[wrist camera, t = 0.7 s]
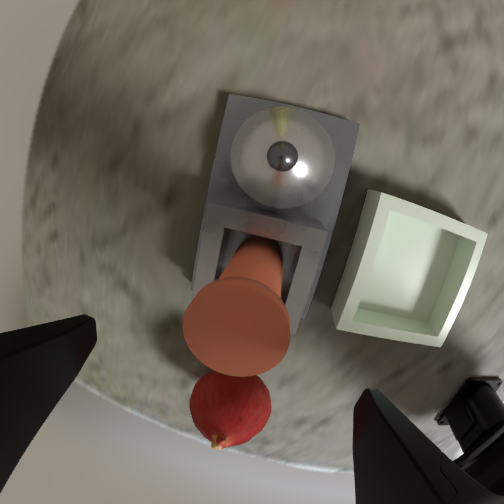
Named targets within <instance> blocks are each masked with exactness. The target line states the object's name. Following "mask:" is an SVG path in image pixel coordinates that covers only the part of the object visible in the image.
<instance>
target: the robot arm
mask: <svg viewBox="0 0 504 504" xmlns="http://www.w3.org/2000/svg"><path fill="white" fill-rule="evenodd" d="M96 341H97V332H96V321H95V319H94V318H93V317H90V316H88V315H85V314H84V315H79V316H75V317H71V318H66V319H62V320H58V321H53V322H49V323H44V324H40V325H36V326H31V327H27V328H22V329H18V330H13V331H8V332H4V333H0V493H1V491H2V489H3V487H4V486H5V484H6V482H7V480H8V479H9V477H10V475H11V474H12V472H13V470H14V469H15V467H16V465H17V464H18V462H19V459H21V457H22V455H23V454H24V452H25V451H26V449H27V447H28V446H29V444H30V443H31V441H32V440H33V438H34V437H35V435H36V434H37V432H38V431H39V429H40V428H41V426H42V425H43V423H44V422H45V420H46V419H47V417H48V416H49V414H50V413H51V411H52V410H53V409H54V407H55V406H56V404H57V403H58V401H59V400H60V399H61V397H62V396H63V395H64V393H65V392H66V390H67V389H68V388H69V386H70V385H71V383H72V382H73V381H74V379H75V378H76V376H77V375H78V373H79V372H80V370H81V368H82V366H83V365H84V363H85V361H86V360H87V358H88V356H89V354H90V353H91V351H92V349H93V348H94V346H95V344H96ZM501 384H502V380H501V379H487V378H469V379H468V380H467V381H466V382H465V383H464V385H463V386H462V388H461V389H460V391H459V392H458V394H457V395H456V397H455V398H454V399H453V401H452V402H451V403H450V405H449V406H448V408H447V409H446V410H445V411H444V413H443V414H442V415H441V417H440V418H439V419H438V421H437V423H438V425H450V428H451V430H452V432H453V434H454V436H455V438H456V440H458V442H459V444H460V446H461V448H462V451H463V453H464V454H463V455H461V456H460V457H459V458H457V459H455V460H454V461H452V460H450V459H449V458H448V457H447V456H446V455H445V454H444V453H443V452H441V450H440V449H439V448H438V447H437V446H436V445H435V444H434V443H433V442H432V441H431V440H430V439H429V438H428V437H426V436H425V435H424V434H423V433H422V432H421V431H420V430H419V429H418V428H417V427H416V426H415V425H414V424H413V423H412V422H411V421H410V420H409V419H408V418H407V417H406V416H405V415H404V414H403V413H402V412H401V411H400V410H399V409H398V408H397V407H396V406H395V405H393V404H392V403H391V402H390V401H389V400H388V399H387V398H386V397H385V396H384V395H383V394H382V393H381V392H380V391H379V390H378V389H373V388H366V389H365V390H364V391H363V393H362V395H361V396H360V398H359V400H358V401H357V403H356V405H355V407H354V413H353V462H354V476H355V496H356V504H504V404H503V402H502V401H501V400H500V398H499V397H498V395H497V394H496V391H497V390H498V388H499V387H500V385H501Z"/></svg>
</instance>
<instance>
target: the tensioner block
mask: <svg viewBox="0 0 504 504" xmlns="http://www.w3.org/2000/svg"><path fill="white" fill-rule="evenodd" d="M359 125H360V124H358V123H355V122H351V121H348V120H345V119H342V118H338V117H335V116H331V115H328V114H324V113H320V112H317V111H313V110H309V109H305V108H301V107H297V106H292V105H288V104H283V103H279V102H274V101H269V100H264V99H258V98H253V97H247V96H241V95H234V94H229V97H228V101H227V105H226V109H225V113H224V118H223V122H222V126H221V130H220V135H219V139H218V144H217V148H216V153H215V157H214V162H213V167H212V172H211V176H210V181H209V186H208V191H207V196H206V202H205V207H204V212H203V218H202V223H201V229H200V234H199V240H198V246H197V252H196V258H195V264H194V270H193V277H192V283H191V290H192V291H193V296H192V300H193V299H194V297H195V296H196V294H197V293H198V292H199V291H200V290H201V289H202V288H203V287H204V286H206V285H207V284H209V283H211V282H213V281H215V280H218V279H219V278H220V276H221V274H222V273H223V271H224V269H225V268H226V266H227V265H228V263H229V261H230V260H231V258H232V256H233V255H234V253H235V252H236V250H237V248H238V247H239V245H240V244H241V243H242V242H243V241H244V240H246V239H248V238H250V237H254V236H262V237H266V238H269V239H271V240H272V241H274V242H275V243H276V244H277V245H278V247H279V248H280V250H281V252H282V256H283V267H282V286H281V300H282V301H283V302H284V304H285V306H286V308H287V311H288V313H289V318H290V334H292V335H295V334H296V331H297V328H298V325H299V322H300V320H301V318H302V319H306V316H307V313H308V310H309V307H310V304H311V302H312V299H313V296H314V292H315V289H316V286H317V283H318V280H319V277H320V274H321V271H322V268H323V264H324V261H325V258H326V254H327V251H328V248H329V244H330V241H331V238H332V234H333V231H334V227H335V223H336V220H337V216H338V213H339V209H340V205H341V201H342V198H343V194H344V190H345V186H346V182H347V178H348V174H349V170H350V165H351V161H352V157H353V153H354V148H355V144H356V139H357V134H358V130H359Z"/></svg>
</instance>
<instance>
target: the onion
mask: <svg viewBox="0 0 504 504" xmlns="http://www.w3.org/2000/svg"><path fill="white" fill-rule="evenodd" d="M190 411H191V415H192V418H193V422H194V424H195V426H196V427H197V428H198V430H199V431H200V432H201V433H202V435H203V436H204V437H206V438H207V439H208V440H210V441H211V442H212V444H211V447H213V448H215V449H219V450H221V449H223V448H225V447H230V446H235V445H240V444H243V443H246V442H247V441H249V440H250V439H251V438H253V437H254V436H255V435H256V434H258V433H259V432H260V431H262V429H263V428H264V426H265V424H266V423H267V421H268V419H269V417H270V413H271V399H270V394H269V390H268V389H267V387H266V386H265V384H264V383H263V381H262V380H261V379H260V377H258V376H257V375H254V376H247V377H237V376H230V375H225V374H222V373H219V372H217V371H214V370H212V371H210V372H208V373H207V374H206V375H204V376H203V377H201V378H200V379H199V380H198V382H197V383H196V384H195V386H194V389H193V391H192V394H191V398H190Z"/></svg>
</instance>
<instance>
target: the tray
mask: <svg viewBox="0 0 504 504" xmlns="http://www.w3.org/2000/svg"><path fill="white" fill-rule="evenodd" d="M486 238H487V233H485V232H482V231H480V230H478V229H476V228H473V227H471V226H469V225H467V224H464V223H462V222H459V221H457V220H455V219H452V218H450V217H447V216H445V215H442V214H440V213H437V212H435V211H432V210H430V209H427V208H424V207H422V206H419V205H416V204H414V203H411V202H408V201H405V200H403V199H400V198H397V197H394V196H391V195H388V194H385V193H382V192H378V191H375V190H371V189H368V190H367V194H366V198H365V202H364V205H363V209H362V213H361V216H360V220H359V223H358V227H357V230H356V234H355V237H354V240H353V243H352V247H351V250H350V253H349V256H348V259H347V263H346V266H345V269H344V272H343V275H342V278H341V281H340V283H339V286H338V289H337V292H336V295H335V298H334V301H333V303H332V306H331V313H332V316H333V320H334V324H335V327H336V329H337V330H342V331H347V332H352V333H357V334H363V335H368V336H373V337H379V338H385V339H390V340H396V341H402V342H408V343H415V344H421V345H428V346H435V347H441V346H442V344H443V342H444V340H445V339H446V337H447V335H448V333H449V331H450V329H451V327H452V325H453V323H454V320H455V318H456V316H457V314H458V312H459V310H460V308H461V305H462V303H463V301H464V298H465V296H466V294H467V291H468V289H469V286H470V284H471V281H472V279H473V276H474V273H475V271H476V268H477V265H478V262H479V259H480V256H481V253H482V250H483V247H484V244H485V241H486Z"/></svg>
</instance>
